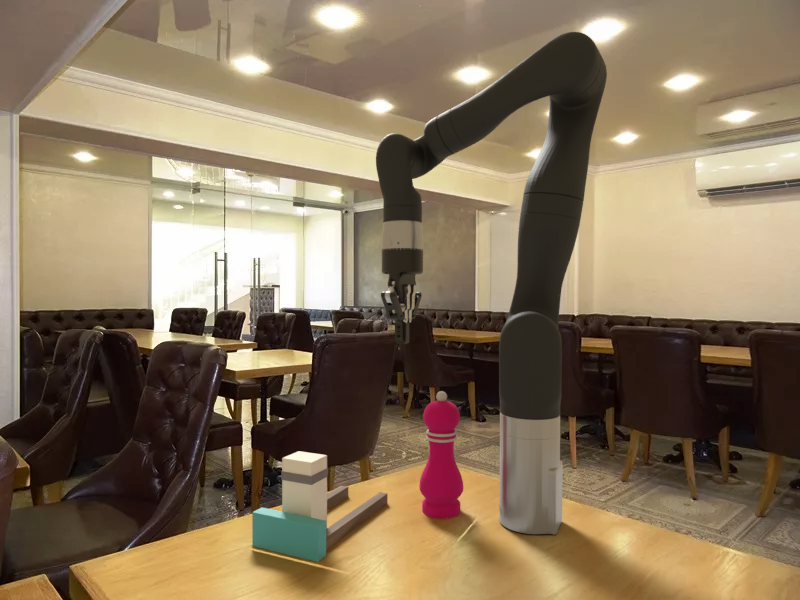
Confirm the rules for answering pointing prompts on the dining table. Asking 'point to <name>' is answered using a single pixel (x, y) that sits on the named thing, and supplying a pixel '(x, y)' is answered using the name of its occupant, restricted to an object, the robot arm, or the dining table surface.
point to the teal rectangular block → (289, 533)
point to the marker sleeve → (305, 485)
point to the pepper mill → (441, 461)
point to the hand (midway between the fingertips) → (402, 343)
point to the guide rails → (352, 518)
